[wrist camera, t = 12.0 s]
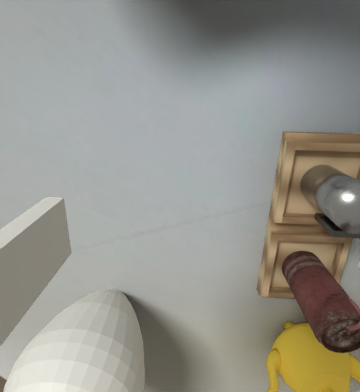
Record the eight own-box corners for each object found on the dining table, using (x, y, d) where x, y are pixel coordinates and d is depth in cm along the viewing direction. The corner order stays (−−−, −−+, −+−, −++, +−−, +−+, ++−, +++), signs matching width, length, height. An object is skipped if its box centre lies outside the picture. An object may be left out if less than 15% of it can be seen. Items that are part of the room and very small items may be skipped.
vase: (127, 350, 55) (79, 541, 31) (49, 310, 51) (-68, 489, 28) (175, 295, 49) (160, 478, 26) (90, 247, 46) (-14, 405, 22)
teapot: (244, 364, 55) (256, 429, 44) (253, 308, 49) (270, 367, 39) (341, 370, 54) (378, 438, 43) (362, 314, 49) (410, 376, 38)
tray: (283, 131, 37) (290, 134, 35) (368, 134, 37) (383, 137, 34) (256, 289, 48) (260, 301, 45) (324, 292, 47) (332, 305, 44)
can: (326, 255, 43) (386, 325, 30) (305, 284, 45) (353, 361, 32) (293, 242, 42) (339, 308, 29) (274, 272, 44) (308, 346, 31)
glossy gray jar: (304, 163, 37) (341, 186, 28) (344, 165, 37) (394, 188, 28) (295, 204, 40) (327, 238, 30) (333, 206, 40) (376, 240, 30)
